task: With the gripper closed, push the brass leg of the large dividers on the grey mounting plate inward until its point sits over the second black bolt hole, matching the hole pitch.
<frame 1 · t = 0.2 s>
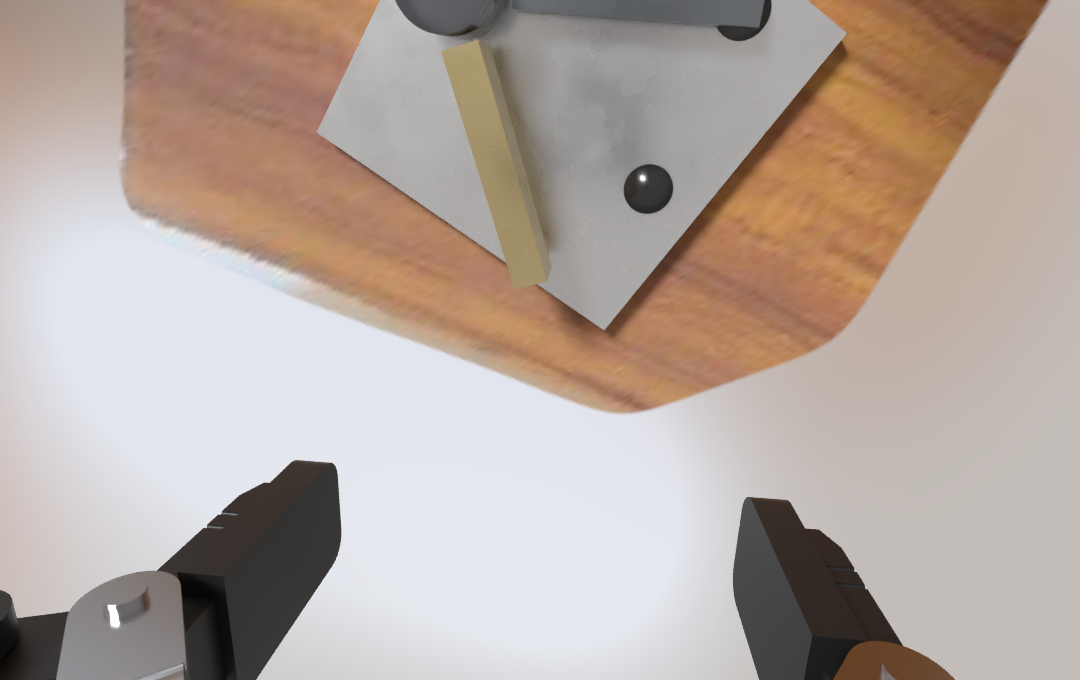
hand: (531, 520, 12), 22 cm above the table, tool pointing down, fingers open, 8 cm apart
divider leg: (504, 168, 28), point 3 cm above the table, hinge at 0.0°
mounting plate: (563, 86, 29), on the table
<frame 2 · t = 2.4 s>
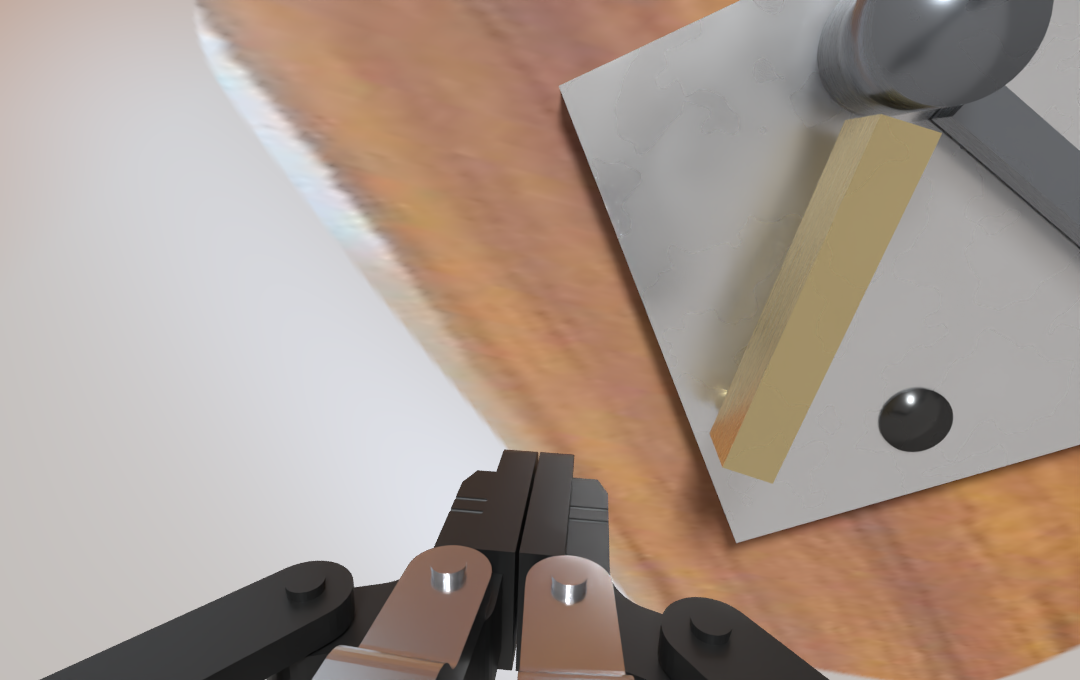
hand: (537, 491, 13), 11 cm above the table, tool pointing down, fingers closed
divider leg: (801, 301, 18), point 3 cm above the table, hinge at 0.0°
mounting plate: (897, 237, 21), on the table
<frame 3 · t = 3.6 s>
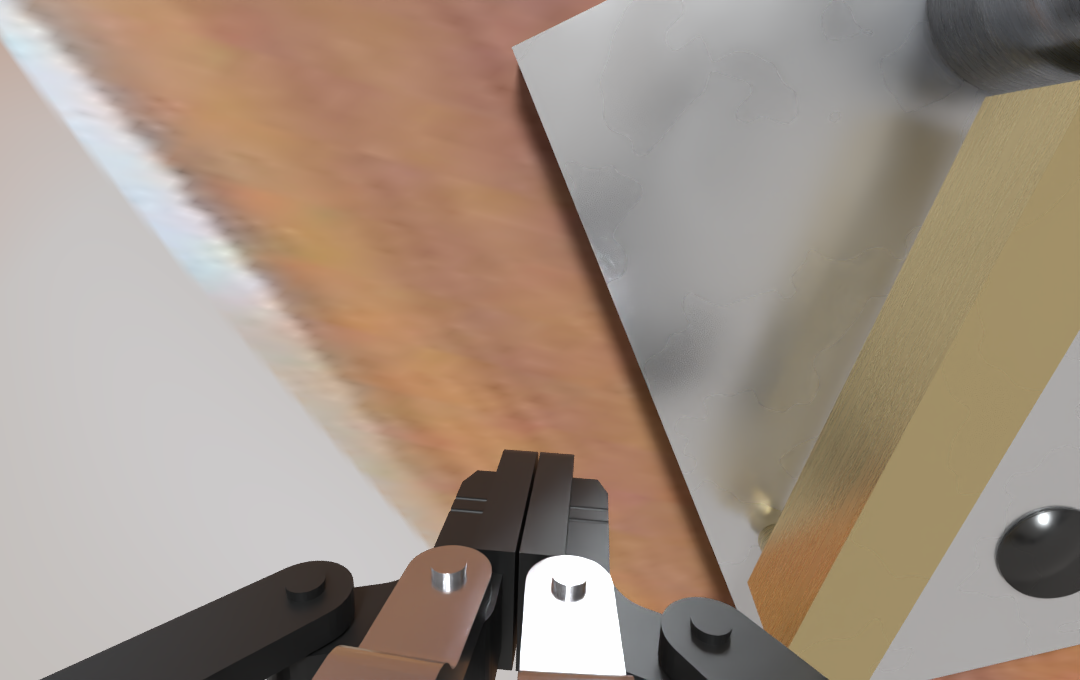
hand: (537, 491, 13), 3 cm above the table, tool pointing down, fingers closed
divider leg: (904, 394, 11), point 3 cm above the table, hinge at 0.0°
mounting plate: (1030, 282, 14), on the table
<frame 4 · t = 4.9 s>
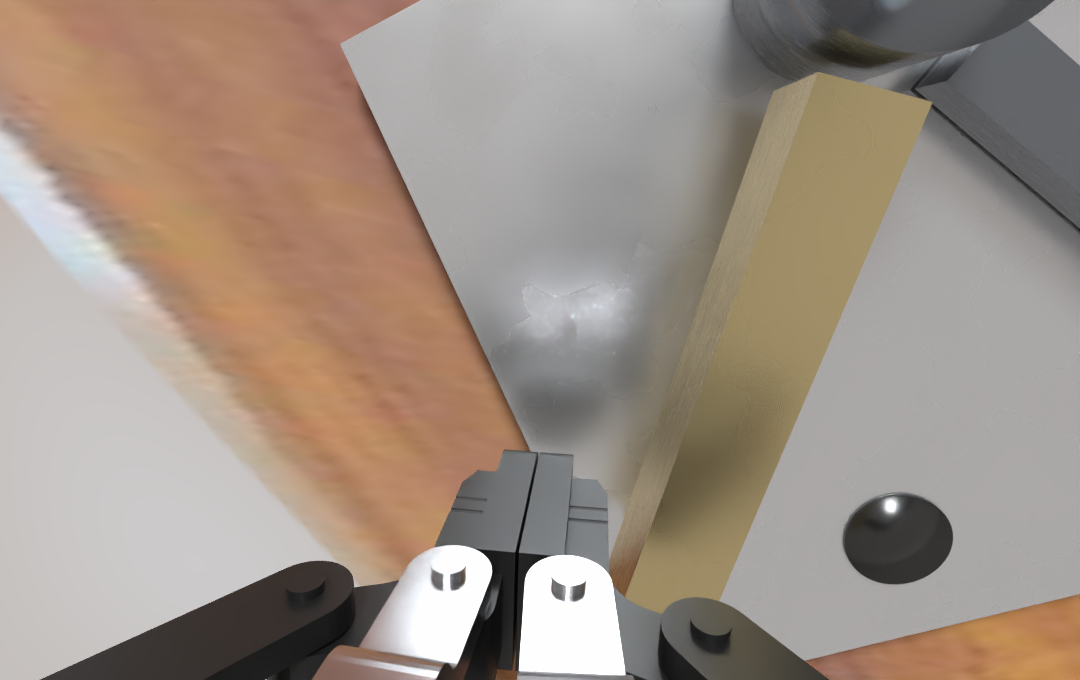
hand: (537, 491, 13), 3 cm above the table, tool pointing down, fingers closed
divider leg: (721, 385, 12), point 3 cm above the table, hinge at 2.0°, touching gripper
mounting plate: (867, 271, 14), on the table
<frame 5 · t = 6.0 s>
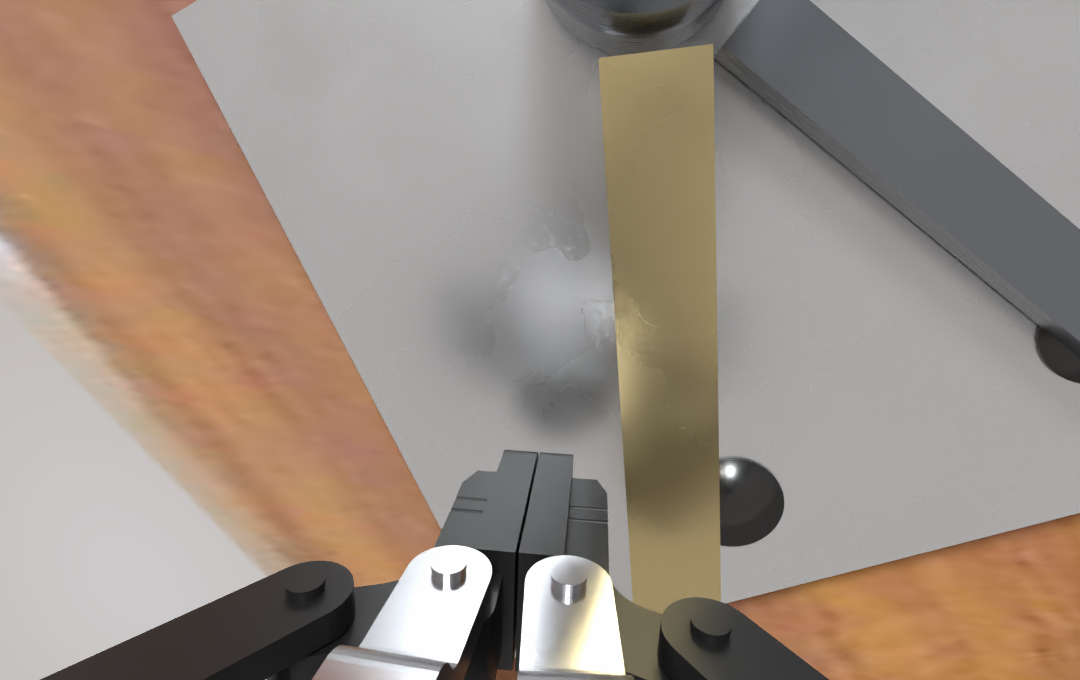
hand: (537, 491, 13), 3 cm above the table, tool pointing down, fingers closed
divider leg: (660, 360, 12), point 3 cm above the table, hinge at 22.2°, touching gripper
mounting plate: (697, 240, 14), on the table
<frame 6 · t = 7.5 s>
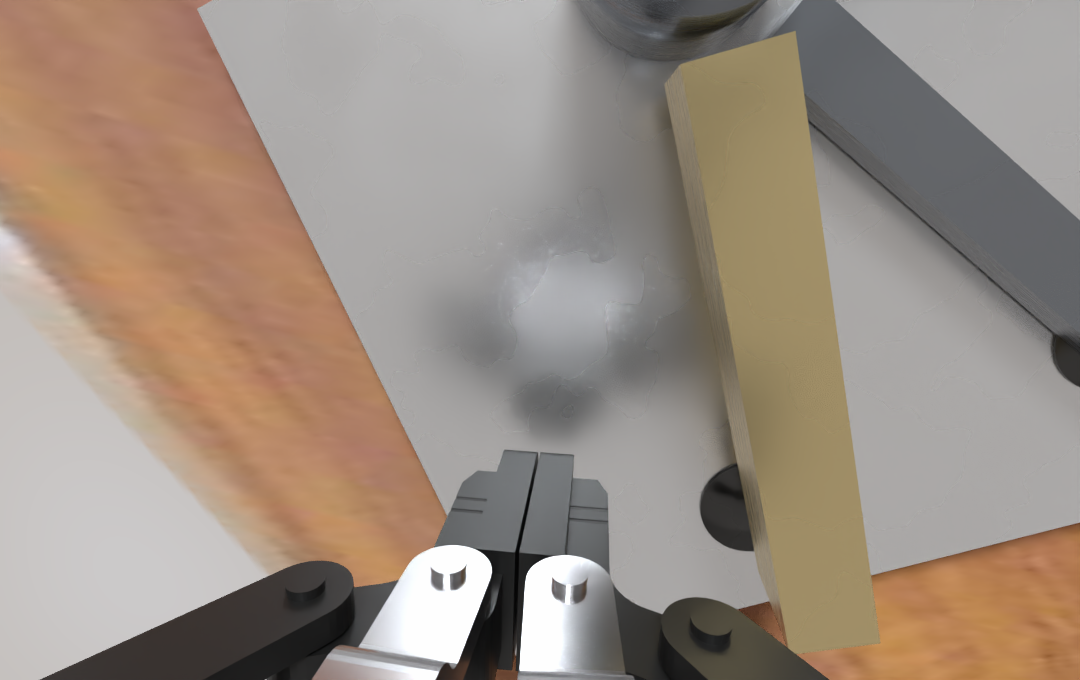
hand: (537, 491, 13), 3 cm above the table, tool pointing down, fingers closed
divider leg: (764, 354, 12), point 3 cm above the table, hinge at 32.4°
mounting plate: (719, 245, 14), on the table
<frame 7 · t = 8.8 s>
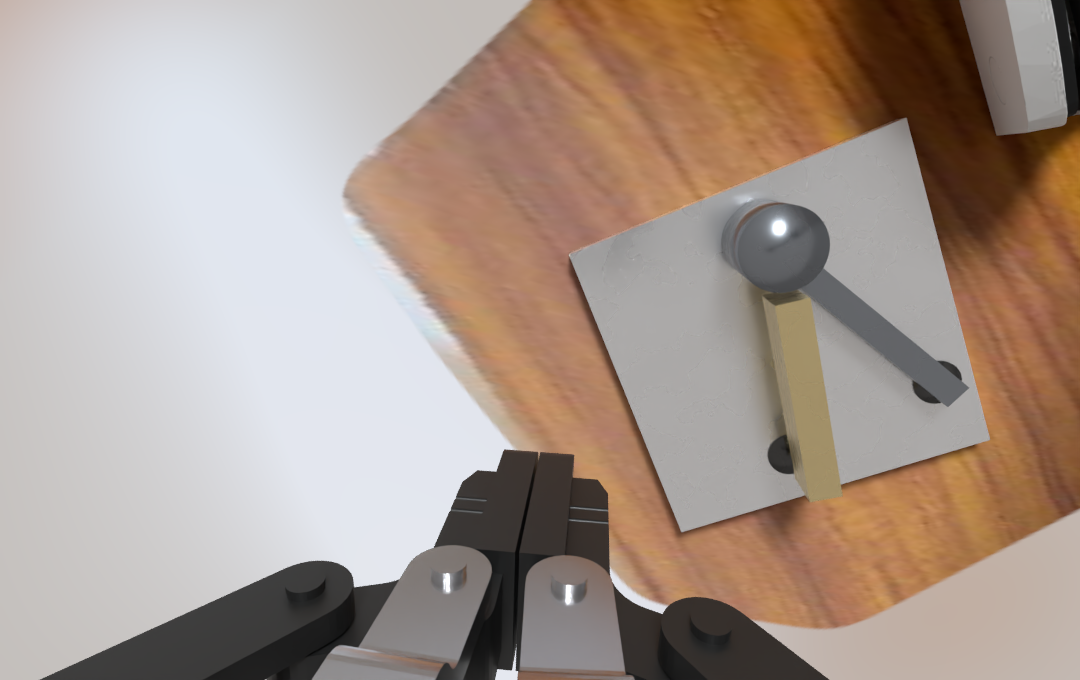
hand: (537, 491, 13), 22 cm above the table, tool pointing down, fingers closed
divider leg: (798, 391, 31), point 3 cm above the table, hinge at 32.4°
mounting plate: (776, 342, 34), on the table
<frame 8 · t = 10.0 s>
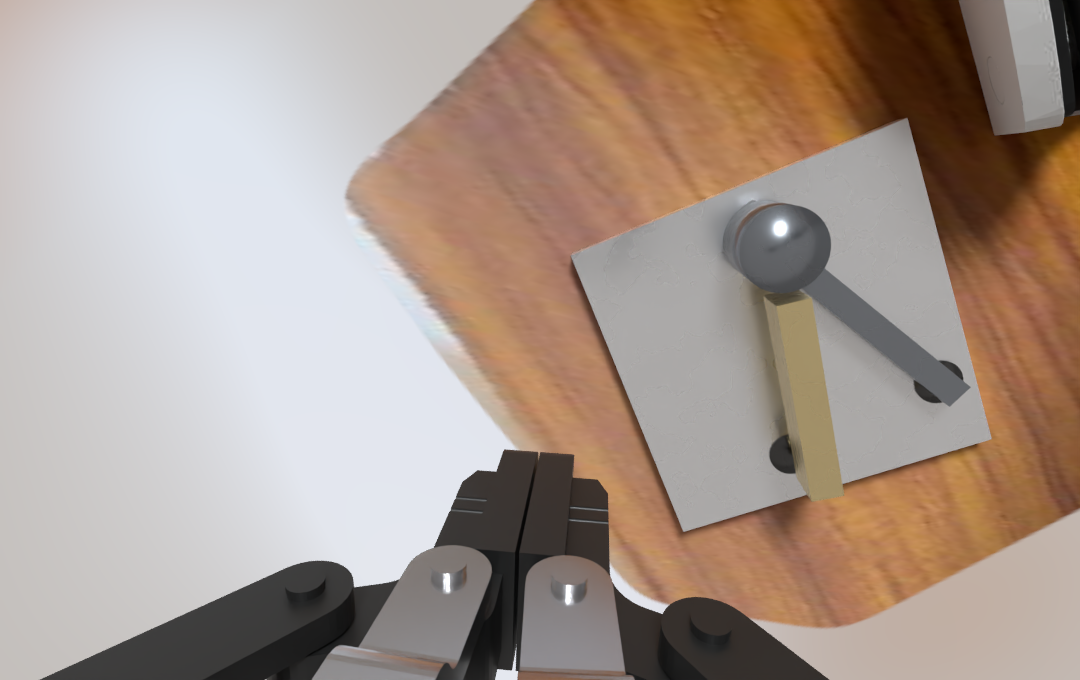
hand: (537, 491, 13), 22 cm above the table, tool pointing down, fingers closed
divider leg: (799, 391, 31), point 3 cm above the table, hinge at 32.4°
mounting plate: (777, 342, 34), on the table
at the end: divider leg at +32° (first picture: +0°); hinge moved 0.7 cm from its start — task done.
